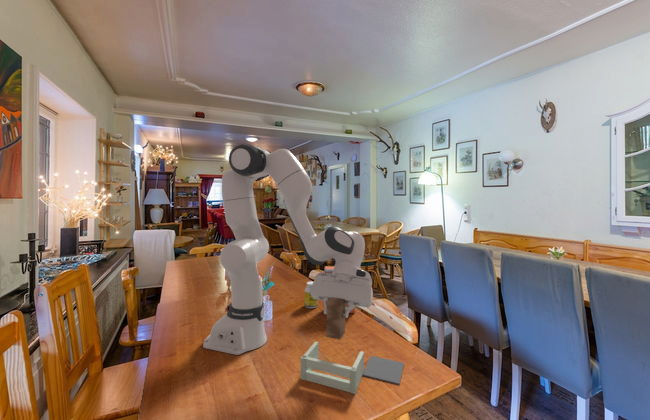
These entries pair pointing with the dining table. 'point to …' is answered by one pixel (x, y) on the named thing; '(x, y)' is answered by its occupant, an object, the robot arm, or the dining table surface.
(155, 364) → the dining table surface
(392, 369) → the mat
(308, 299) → the pill bottle
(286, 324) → the dining table surface
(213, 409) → the dining table surface
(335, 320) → the walnut block
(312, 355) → the crate
